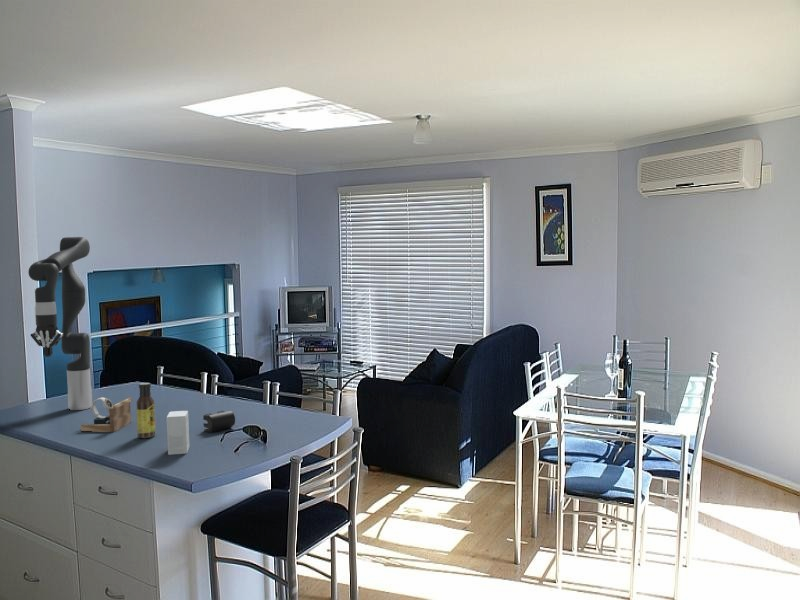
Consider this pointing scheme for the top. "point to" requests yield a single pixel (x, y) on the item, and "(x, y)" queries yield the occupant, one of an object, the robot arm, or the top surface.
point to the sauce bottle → (145, 412)
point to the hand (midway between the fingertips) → (48, 356)
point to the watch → (107, 404)
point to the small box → (177, 432)
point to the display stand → (113, 418)
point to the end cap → (219, 421)
